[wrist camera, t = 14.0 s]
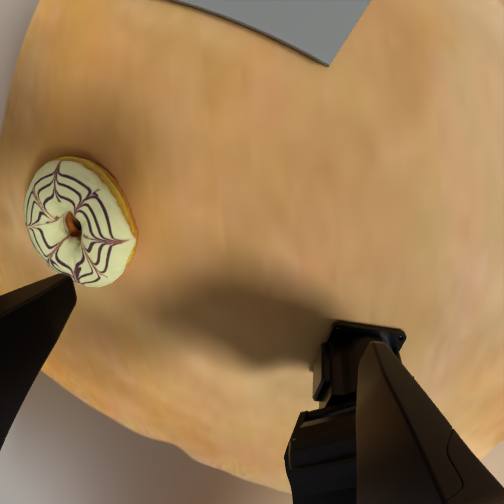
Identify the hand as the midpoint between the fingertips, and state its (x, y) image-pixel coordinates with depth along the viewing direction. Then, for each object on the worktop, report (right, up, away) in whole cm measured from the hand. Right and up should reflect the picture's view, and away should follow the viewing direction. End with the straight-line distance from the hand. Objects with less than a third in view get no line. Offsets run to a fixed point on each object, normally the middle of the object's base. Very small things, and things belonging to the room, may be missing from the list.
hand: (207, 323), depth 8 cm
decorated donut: (-12, +5, +15) cm, 20 cm away
